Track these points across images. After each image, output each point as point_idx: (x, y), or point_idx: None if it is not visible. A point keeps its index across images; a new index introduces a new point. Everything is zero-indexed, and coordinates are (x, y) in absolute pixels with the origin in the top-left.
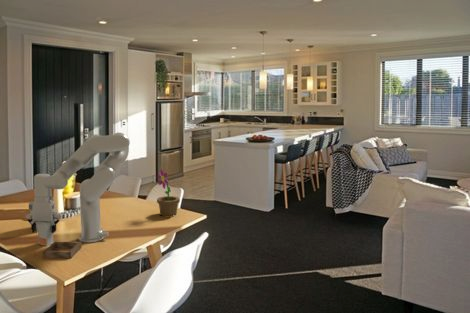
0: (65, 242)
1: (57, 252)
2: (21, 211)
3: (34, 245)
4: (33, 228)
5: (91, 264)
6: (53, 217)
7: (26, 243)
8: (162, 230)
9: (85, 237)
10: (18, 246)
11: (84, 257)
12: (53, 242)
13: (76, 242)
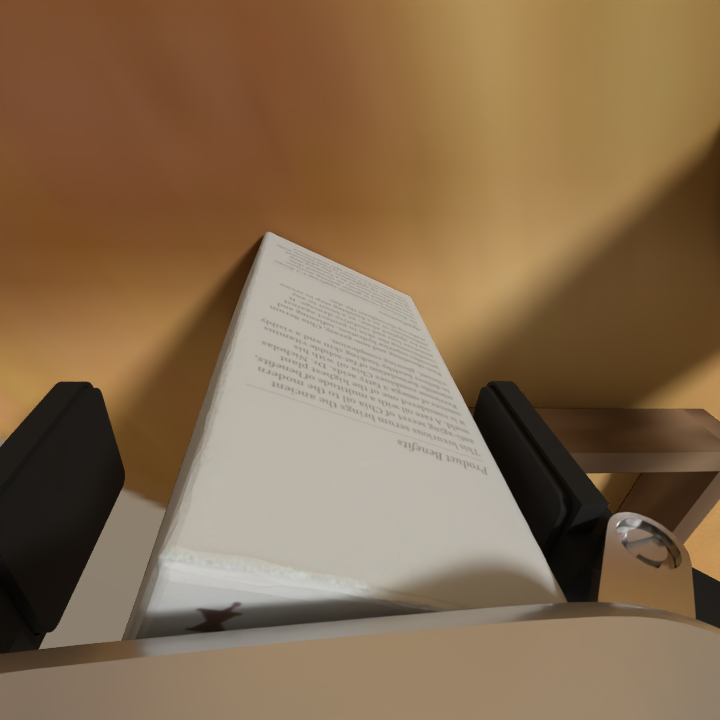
0: (599, 470)
1: None
2: None
3: (200, 358)
4: (92, 549)
5: None
6: (706, 676)
7: (36, 292)
8: None
9: None
10: (18, 386)
11: (686, 546)
12: (414, 305)
13: (708, 465)
